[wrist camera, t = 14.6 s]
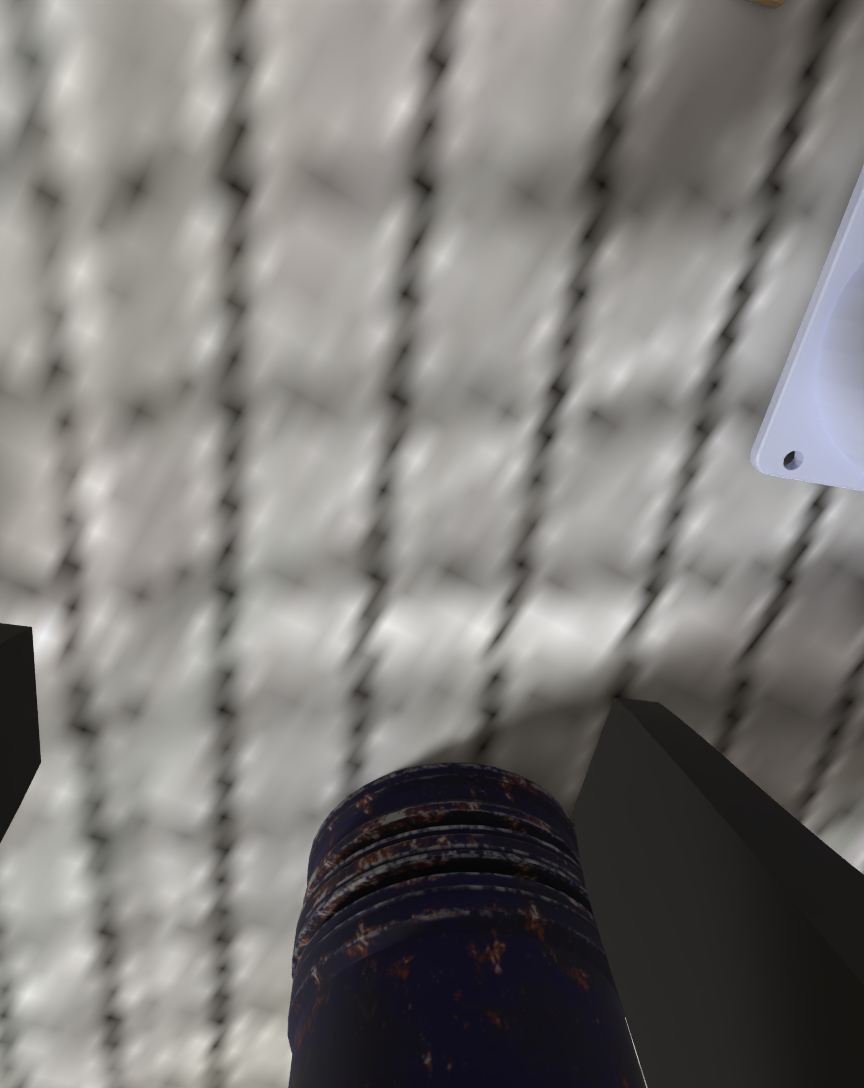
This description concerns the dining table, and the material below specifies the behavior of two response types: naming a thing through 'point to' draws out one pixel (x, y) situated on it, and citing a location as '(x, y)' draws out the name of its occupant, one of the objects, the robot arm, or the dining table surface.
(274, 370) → the dining table surface
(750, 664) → the dining table surface
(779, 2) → the board
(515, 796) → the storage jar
